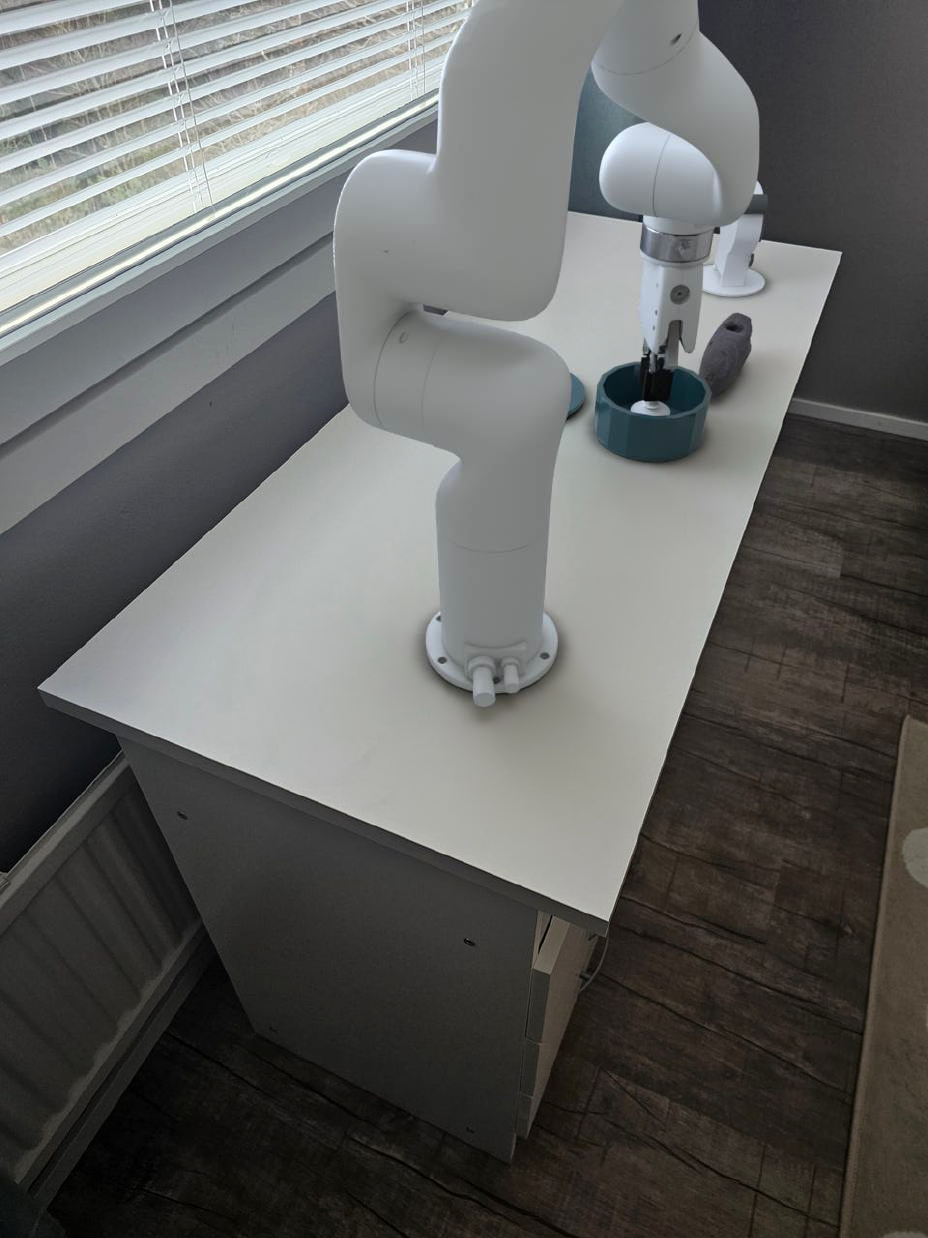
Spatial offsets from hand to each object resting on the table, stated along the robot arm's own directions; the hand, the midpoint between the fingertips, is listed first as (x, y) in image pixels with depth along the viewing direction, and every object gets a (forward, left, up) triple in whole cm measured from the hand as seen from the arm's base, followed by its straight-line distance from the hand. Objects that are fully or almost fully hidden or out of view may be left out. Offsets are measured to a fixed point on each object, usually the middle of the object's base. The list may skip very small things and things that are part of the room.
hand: (653, 392), depth 107 cm
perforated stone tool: (+12, -12, -6) cm, 17 cm away
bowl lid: (+9, +14, -5) cm, 17 cm away
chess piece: (0, 0, -3) cm, 3 cm away
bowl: (0, 0, -5) cm, 5 cm away
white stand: (+42, -21, -6) cm, 47 cm away
